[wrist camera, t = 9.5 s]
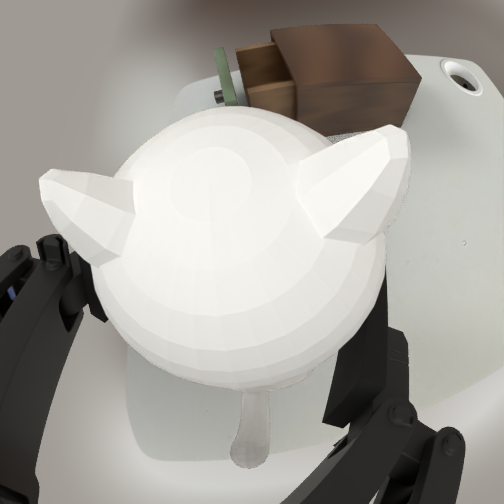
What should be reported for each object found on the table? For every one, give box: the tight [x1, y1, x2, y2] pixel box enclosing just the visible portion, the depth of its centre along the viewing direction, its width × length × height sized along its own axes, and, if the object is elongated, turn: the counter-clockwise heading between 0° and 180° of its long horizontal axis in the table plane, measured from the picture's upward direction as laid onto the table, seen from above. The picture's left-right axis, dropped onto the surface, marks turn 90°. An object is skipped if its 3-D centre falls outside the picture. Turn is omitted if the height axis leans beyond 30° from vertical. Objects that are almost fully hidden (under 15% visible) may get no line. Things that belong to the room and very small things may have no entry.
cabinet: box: [270, 24, 422, 137], centre depth 30 cm, size 15×12×10 cm
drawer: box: [214, 42, 296, 121], centre depth 31 cm, size 15×10×8 cm
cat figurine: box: [39, 106, 411, 469], centre depth 11 cm, size 9×12×15 cm
